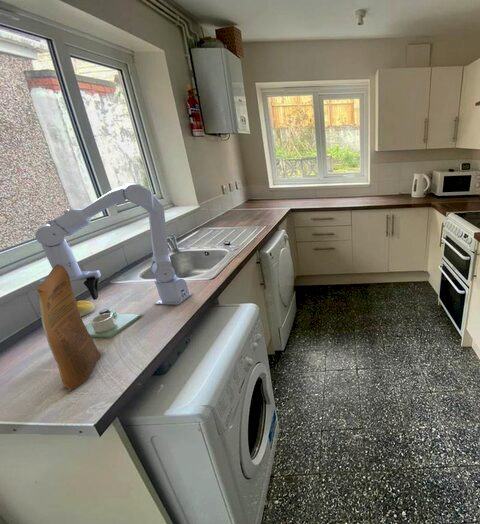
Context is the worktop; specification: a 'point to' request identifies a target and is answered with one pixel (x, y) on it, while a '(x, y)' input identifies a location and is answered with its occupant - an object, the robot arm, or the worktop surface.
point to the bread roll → (85, 307)
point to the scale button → (104, 311)
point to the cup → (103, 322)
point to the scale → (121, 323)
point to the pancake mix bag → (66, 329)
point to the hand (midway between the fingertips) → (81, 301)
